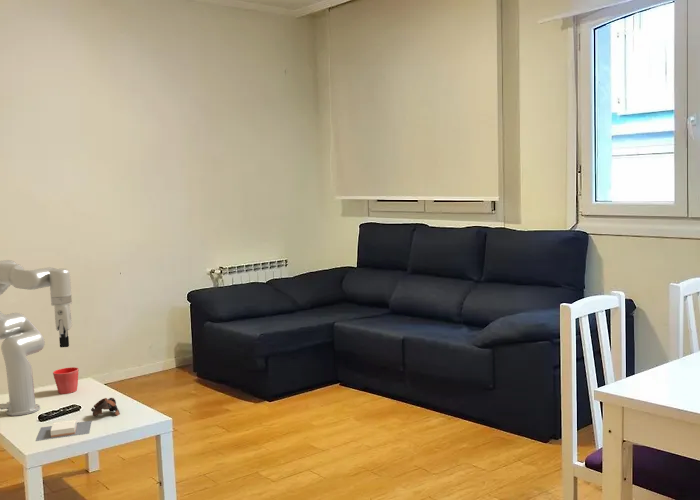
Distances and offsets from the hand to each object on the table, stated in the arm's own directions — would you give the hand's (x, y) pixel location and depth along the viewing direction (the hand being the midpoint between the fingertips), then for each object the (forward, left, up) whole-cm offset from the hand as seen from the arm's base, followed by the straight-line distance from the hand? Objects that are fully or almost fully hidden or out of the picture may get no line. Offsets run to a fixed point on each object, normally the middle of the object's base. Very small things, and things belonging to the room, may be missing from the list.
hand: (64, 346), depth 291 cm
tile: (0, -18, -26) cm, 32 cm away
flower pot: (-4, +39, -28) cm, 48 cm away
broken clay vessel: (+14, -9, -28) cm, 32 cm away
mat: (0, -22, -27) cm, 35 cm away
